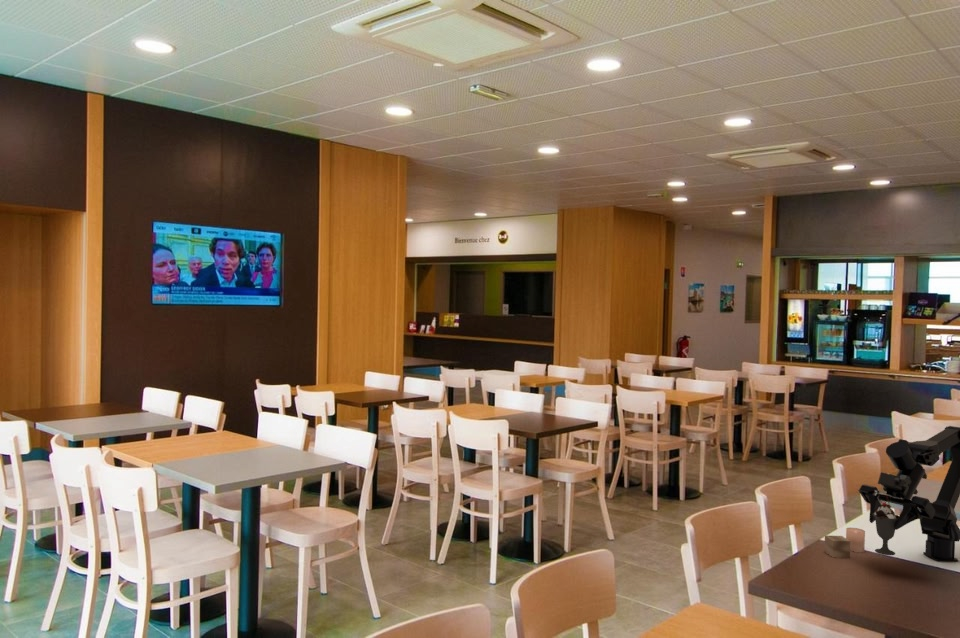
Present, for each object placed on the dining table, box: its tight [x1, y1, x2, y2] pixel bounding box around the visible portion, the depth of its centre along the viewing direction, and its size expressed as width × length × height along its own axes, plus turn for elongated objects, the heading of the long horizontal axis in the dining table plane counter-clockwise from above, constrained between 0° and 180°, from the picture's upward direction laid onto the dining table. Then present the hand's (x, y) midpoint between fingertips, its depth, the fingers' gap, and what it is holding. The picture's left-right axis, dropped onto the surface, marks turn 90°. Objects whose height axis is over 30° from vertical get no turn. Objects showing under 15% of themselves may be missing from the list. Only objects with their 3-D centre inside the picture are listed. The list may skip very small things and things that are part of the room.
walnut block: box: [824, 535, 851, 559], centre depth 213 cm, size 5×5×5 cm
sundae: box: [872, 497, 900, 556], centre depth 199 cm, size 7×7×15 cm
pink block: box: [845, 527, 866, 553], centre depth 218 cm, size 5×5×6 cm
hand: (882, 525), depth 198 cm, fingers closed on sundae, 6 cm apart
